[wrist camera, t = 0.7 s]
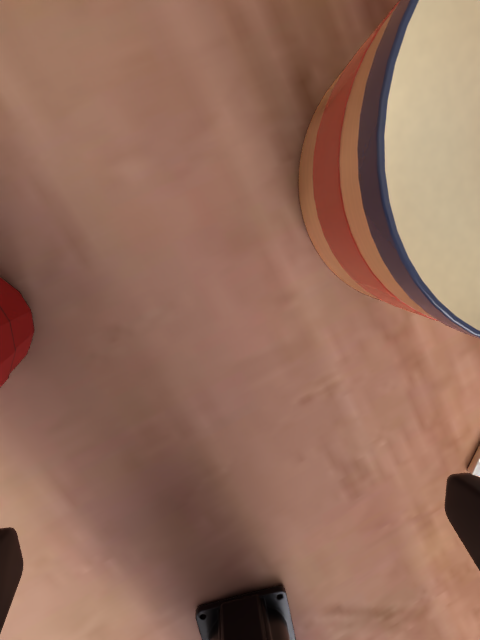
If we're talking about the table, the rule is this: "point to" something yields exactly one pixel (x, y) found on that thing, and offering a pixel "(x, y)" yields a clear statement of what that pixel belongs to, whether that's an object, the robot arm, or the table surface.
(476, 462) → the spoon
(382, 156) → the tin
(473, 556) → the robot arm
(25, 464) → the table surface
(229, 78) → the table surface
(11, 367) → the plastic cup
